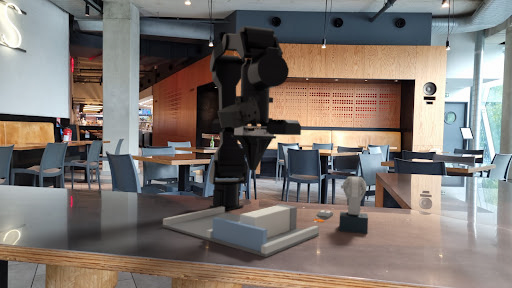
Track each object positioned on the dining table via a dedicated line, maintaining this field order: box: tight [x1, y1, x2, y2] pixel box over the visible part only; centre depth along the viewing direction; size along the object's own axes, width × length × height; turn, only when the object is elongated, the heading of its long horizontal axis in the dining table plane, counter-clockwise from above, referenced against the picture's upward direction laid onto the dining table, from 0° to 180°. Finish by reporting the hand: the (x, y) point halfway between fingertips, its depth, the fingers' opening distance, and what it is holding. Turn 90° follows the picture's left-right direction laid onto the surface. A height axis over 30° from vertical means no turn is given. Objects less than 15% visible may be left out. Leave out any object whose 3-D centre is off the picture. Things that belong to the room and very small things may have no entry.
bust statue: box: [338, 175, 369, 234], centre depth 78 cm, size 6×8×11 cm
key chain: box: [313, 209, 334, 223], centre depth 86 cm, size 13×4×2 cm, turn 158°
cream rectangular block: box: [239, 203, 298, 238], centre depth 71 cm, size 13×4×4 cm, turn 142°
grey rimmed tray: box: [162, 206, 320, 258], centre depth 74 cm, size 17×26×4 cm, turn 51°
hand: (252, 170), depth 75 cm, fingers closed
